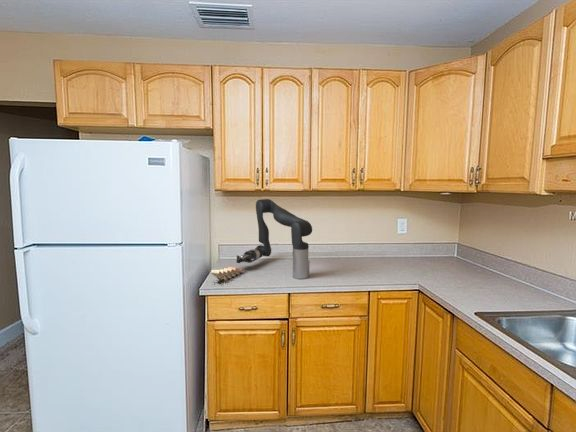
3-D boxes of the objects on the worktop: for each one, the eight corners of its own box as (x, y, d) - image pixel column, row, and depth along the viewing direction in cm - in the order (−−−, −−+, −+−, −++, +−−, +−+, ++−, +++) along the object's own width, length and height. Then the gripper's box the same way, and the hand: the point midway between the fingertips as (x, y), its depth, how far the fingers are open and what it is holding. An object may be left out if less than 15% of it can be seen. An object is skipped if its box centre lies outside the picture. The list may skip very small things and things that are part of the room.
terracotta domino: (236, 269, 204) (228, 266, 195) (243, 270, 202) (235, 267, 193) (236, 272, 204) (227, 269, 195) (243, 273, 202) (235, 270, 193)
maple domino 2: (224, 275, 192) (215, 269, 184) (232, 276, 190) (223, 270, 182) (223, 278, 191) (214, 272, 183) (231, 279, 190) (222, 273, 181)
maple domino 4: (232, 271, 200) (224, 268, 191) (240, 272, 198) (231, 269, 189) (232, 274, 200) (223, 270, 191) (239, 275, 198) (230, 271, 189)
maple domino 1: (220, 277, 188) (211, 269, 181) (227, 278, 186) (219, 270, 179) (219, 280, 188) (210, 272, 180) (226, 281, 186) (218, 273, 178)
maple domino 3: (228, 273, 196) (220, 269, 188) (236, 274, 194) (227, 270, 186) (228, 276, 196) (219, 271, 187) (235, 277, 194) (226, 272, 185)
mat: (237, 271, 208) (237, 270, 208) (248, 272, 205) (248, 271, 204) (215, 281, 187) (215, 280, 187) (227, 283, 183) (227, 282, 183)
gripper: (243, 249, 218) (228, 254, 202) (260, 250, 213) (247, 256, 197) (243, 260, 219) (228, 266, 203) (261, 262, 214) (247, 268, 198)
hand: (237, 261), depth 200 cm, fingers closed
